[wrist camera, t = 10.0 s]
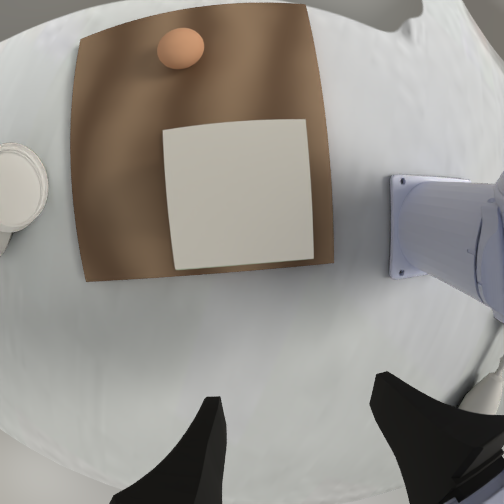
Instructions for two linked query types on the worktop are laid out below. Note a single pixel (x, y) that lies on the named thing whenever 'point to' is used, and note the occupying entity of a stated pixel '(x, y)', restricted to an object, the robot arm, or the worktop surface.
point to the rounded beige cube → (239, 192)
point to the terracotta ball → (180, 48)
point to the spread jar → (20, 189)
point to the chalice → (485, 393)
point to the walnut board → (184, 125)
